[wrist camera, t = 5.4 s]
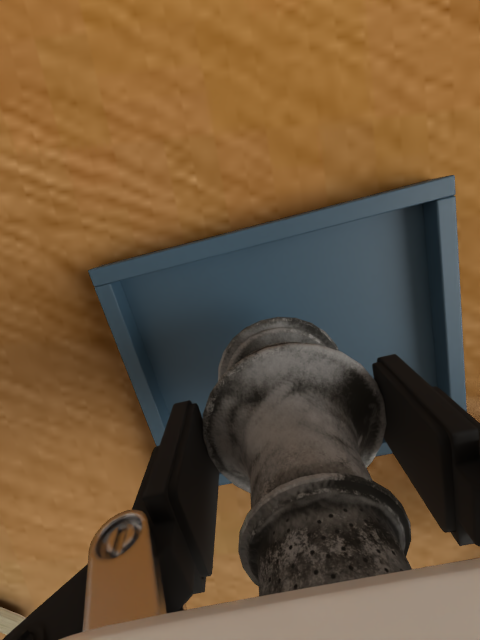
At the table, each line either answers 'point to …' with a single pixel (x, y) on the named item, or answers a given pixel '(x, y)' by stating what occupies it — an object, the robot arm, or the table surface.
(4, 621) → the ice cream bar
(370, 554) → the stone chess piece
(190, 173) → the table surface
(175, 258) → the blue tray
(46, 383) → the table surface
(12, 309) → the table surface
